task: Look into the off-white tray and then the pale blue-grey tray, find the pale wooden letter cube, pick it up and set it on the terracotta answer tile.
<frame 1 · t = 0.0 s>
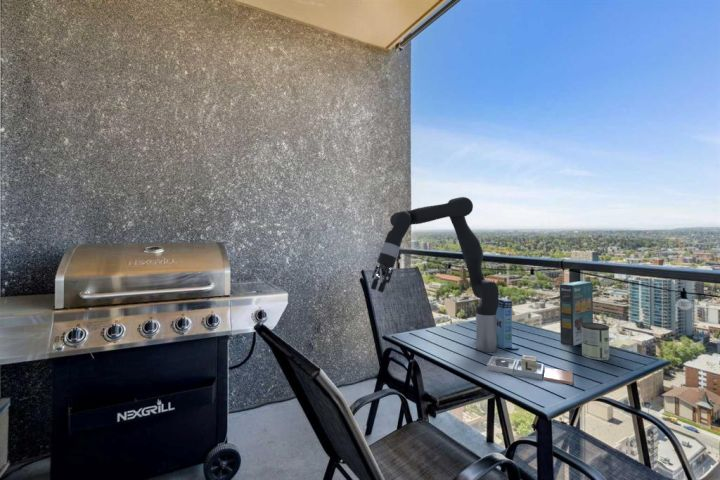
hand: (376, 290, 143), 31 cm above the table, tool tilted 20°, fingers open, 8 cm apart
coffee can: (595, 356, 150), on the table
near tray: (502, 367, 138), on the table
letter cube: (529, 370, 133), point 1 cm above the table, touching middle tray
grey domed disc: (502, 365, 138), point 1 cm above the table, touching near tray
middle tray: (529, 372, 133), on the table
cake mix box: (577, 341, 174), on the table
answer tile: (558, 377, 128), on the table
gum box: (496, 342, 173), on the table
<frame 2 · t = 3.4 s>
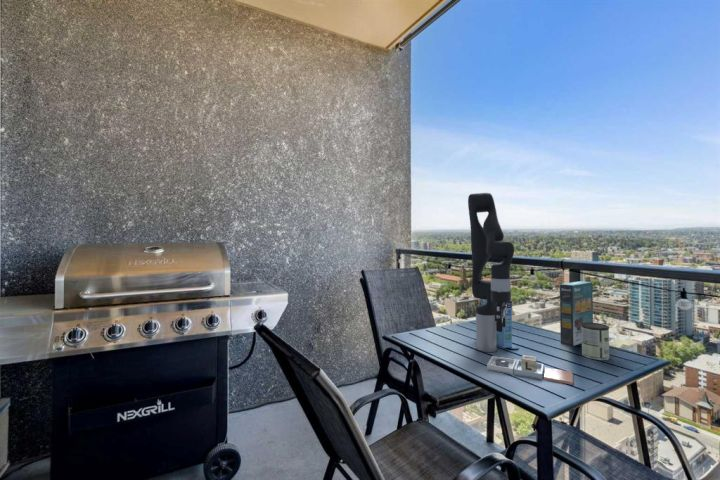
hand: (501, 329, 137), 16 cm above the table, tool pointing down, fingers open, 8 cm apart
nothing on the table moved.
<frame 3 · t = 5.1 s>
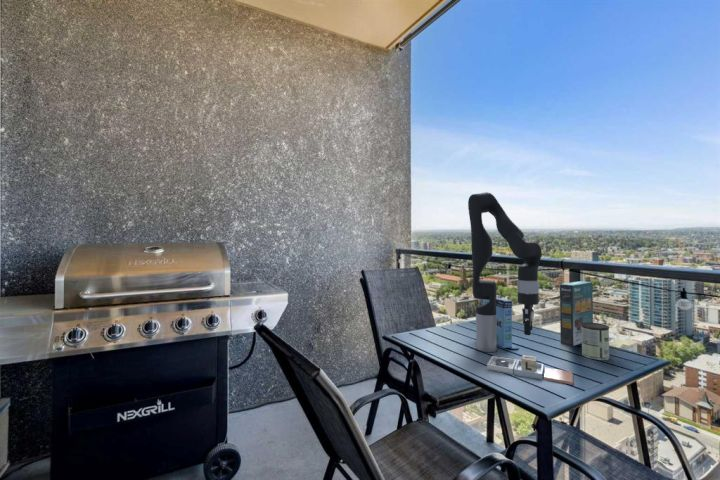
hand: (528, 332, 133), 16 cm above the table, tool pointing down, fingers open, 8 cm apart
nothing on the table moved.
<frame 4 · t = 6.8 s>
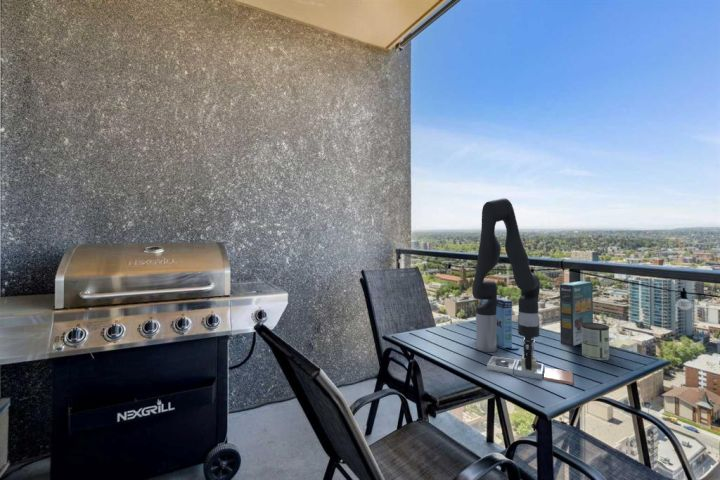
hand: (529, 365, 133), 2 cm above the table, tool pointing down, fingers closed on letter cube, 5 cm apart
letter cube: (529, 370, 133), point 1 cm above the table, touching gripper, middle tray
everything else where it was.
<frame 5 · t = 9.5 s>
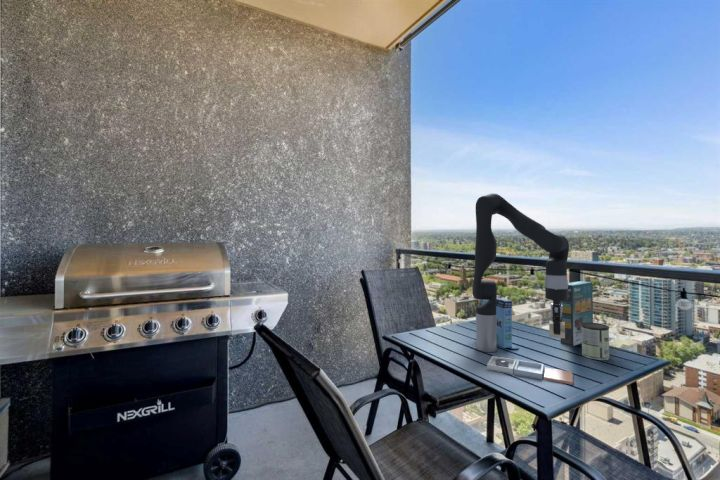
hand: (557, 331, 128), 18 cm above the table, tool pointing down, fingers closed on letter cube, 5 cm apart
letter cube: (557, 335, 128), point 16 cm above the table, touching gripper
everything else where it was.
when the fingers open (4 cm above the table, at t = 12.4 s): letter cube drops 1 cm, resting on answer tile.
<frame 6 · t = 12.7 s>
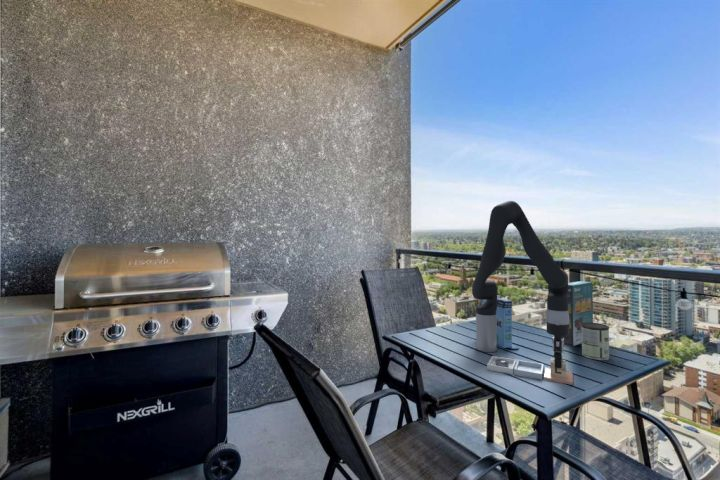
hand: (558, 364, 128), 5 cm above the table, tool pointing down, fingers open, 7 cm apart
letter cube: (558, 374, 128), point 1 cm above the table, touching answer tile
everything else where it was.
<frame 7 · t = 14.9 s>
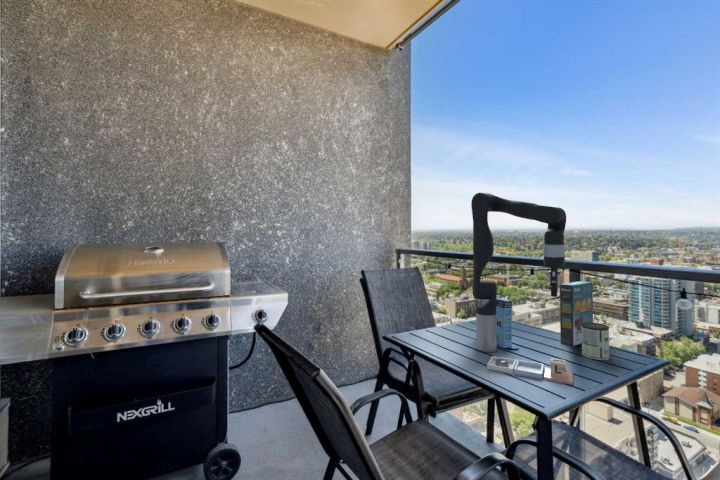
hand: (554, 294, 138), 30 cm above the table, tool pointing down, fingers open, 8 cm apart
nothing on the table moved.
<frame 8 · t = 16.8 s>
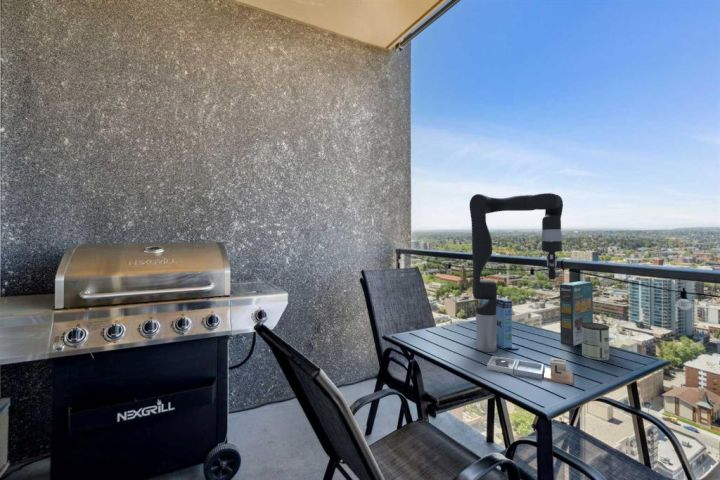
hand: (552, 278, 143), 36 cm above the table, tool pointing down, fingers open, 8 cm apart
nothing on the table moved.
at the end: letter cube 0.3 cm off-centre on the answer tile, point 1.0 cm above the answer tile's base; letter cube tilted 0°; the gripper is holding nothing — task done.
